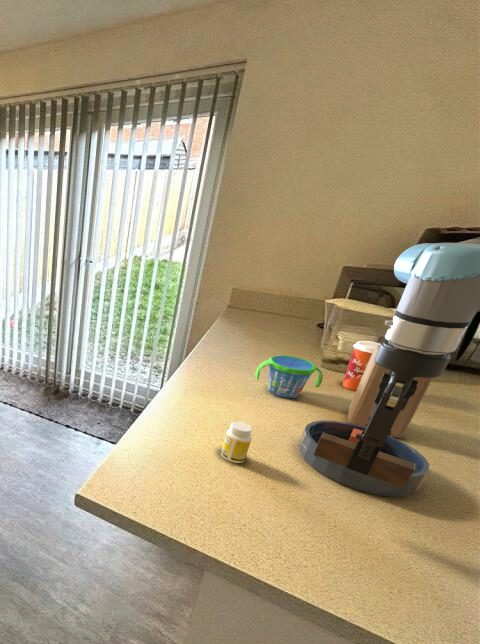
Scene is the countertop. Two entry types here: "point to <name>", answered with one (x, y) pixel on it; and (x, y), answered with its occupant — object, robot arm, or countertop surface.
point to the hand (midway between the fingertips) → (358, 466)
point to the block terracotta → (354, 435)
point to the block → (368, 392)
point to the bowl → (354, 478)
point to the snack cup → (288, 375)
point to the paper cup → (358, 363)
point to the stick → (381, 468)
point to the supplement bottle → (237, 442)
